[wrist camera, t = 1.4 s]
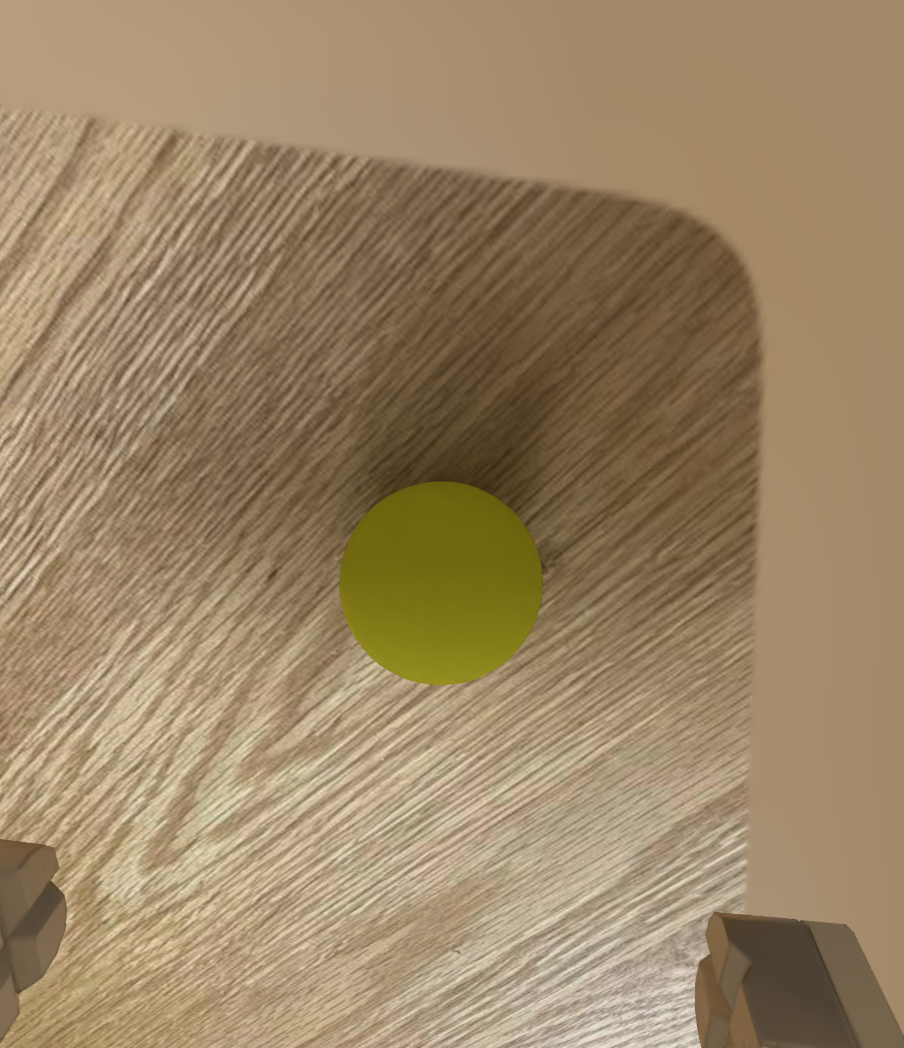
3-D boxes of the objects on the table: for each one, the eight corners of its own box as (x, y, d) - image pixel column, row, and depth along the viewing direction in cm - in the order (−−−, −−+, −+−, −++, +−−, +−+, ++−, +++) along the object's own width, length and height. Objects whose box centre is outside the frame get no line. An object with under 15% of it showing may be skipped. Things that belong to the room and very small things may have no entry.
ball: (361, 449, 19) (314, 518, 14) (548, 462, 18) (556, 535, 14) (361, 613, 20) (319, 718, 16) (532, 627, 20) (535, 737, 16)
